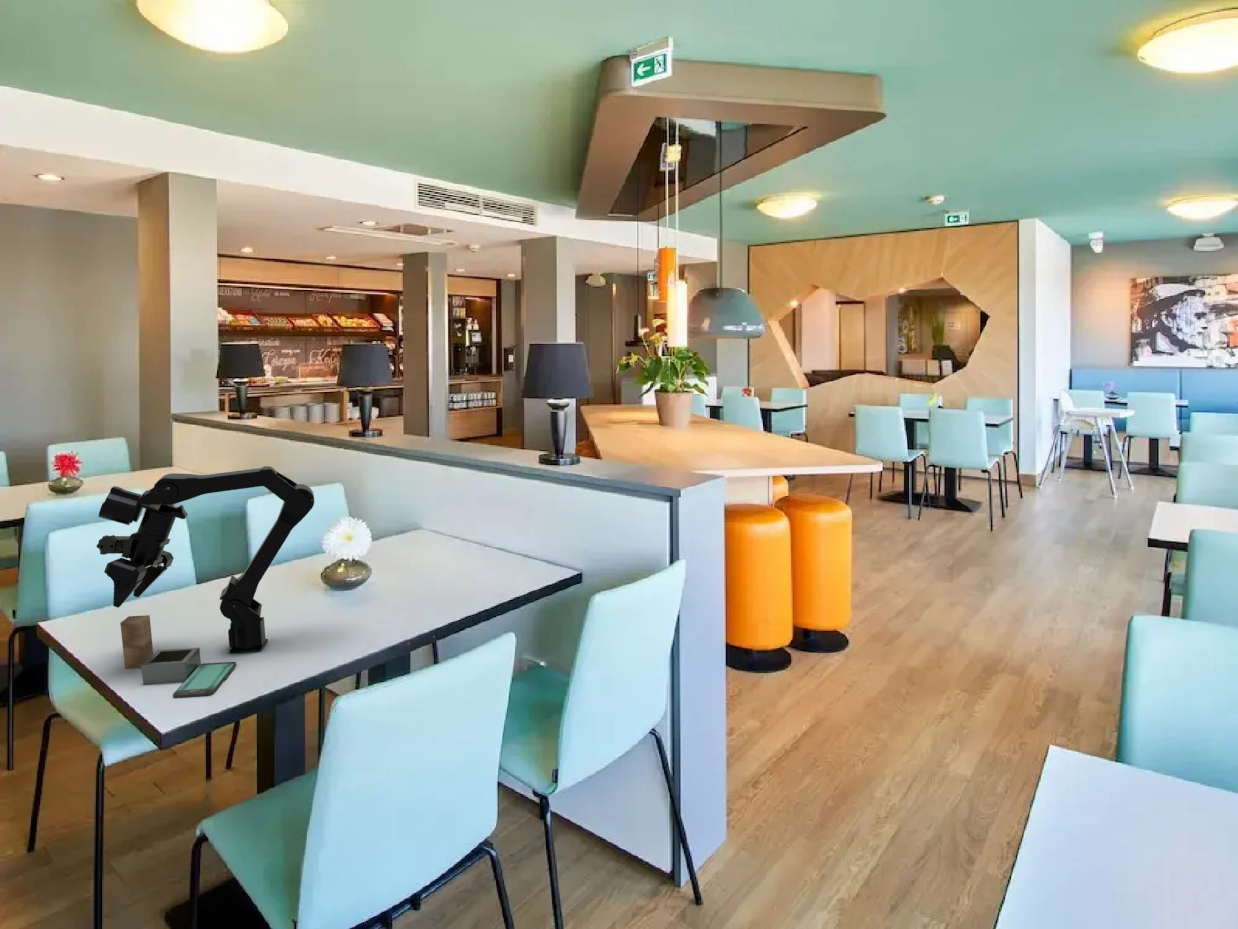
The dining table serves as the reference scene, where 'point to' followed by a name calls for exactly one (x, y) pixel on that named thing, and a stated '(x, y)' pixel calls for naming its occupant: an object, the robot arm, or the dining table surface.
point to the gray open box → (170, 665)
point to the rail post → (136, 640)
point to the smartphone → (205, 680)
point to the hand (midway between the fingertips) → (126, 601)
